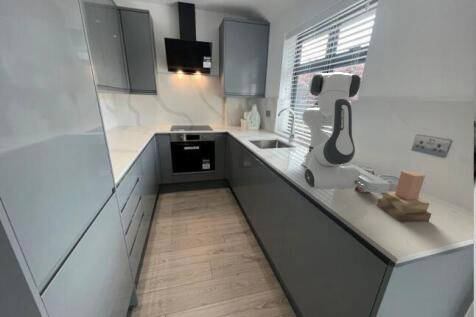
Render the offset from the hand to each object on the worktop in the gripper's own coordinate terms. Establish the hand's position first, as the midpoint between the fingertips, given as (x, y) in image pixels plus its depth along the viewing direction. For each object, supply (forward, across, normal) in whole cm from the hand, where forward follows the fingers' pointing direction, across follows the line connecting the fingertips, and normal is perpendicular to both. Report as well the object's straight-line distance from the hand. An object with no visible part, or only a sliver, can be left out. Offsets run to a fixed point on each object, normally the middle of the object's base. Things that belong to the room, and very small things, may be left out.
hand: (380, 176), depth 77 cm
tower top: (+12, -2, +12) cm, 17 cm away
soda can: (+10, +19, +16) cm, 26 cm away
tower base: (+12, -2, +16) cm, 20 cm away
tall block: (+12, -2, +8) cm, 15 cm away
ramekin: (+24, +17, +16) cm, 33 cm away
